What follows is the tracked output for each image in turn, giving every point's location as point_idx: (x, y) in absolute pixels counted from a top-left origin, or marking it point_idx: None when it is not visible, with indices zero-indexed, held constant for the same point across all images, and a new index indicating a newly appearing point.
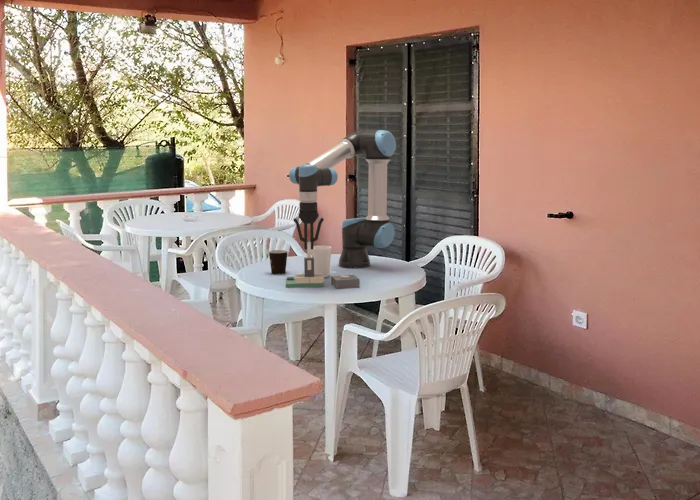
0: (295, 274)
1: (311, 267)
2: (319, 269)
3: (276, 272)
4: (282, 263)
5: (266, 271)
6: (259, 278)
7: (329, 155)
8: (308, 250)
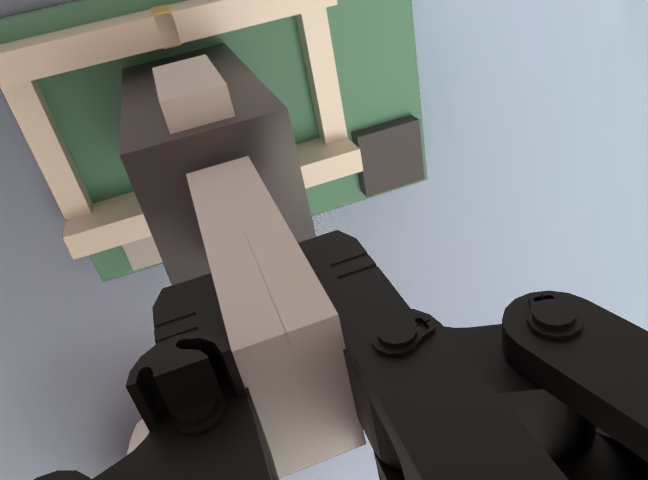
0: (356, 154)
1: (158, 103)
2: None
3: None
4: None
5: None
6: (592, 247)
7: None
8: (252, 218)
